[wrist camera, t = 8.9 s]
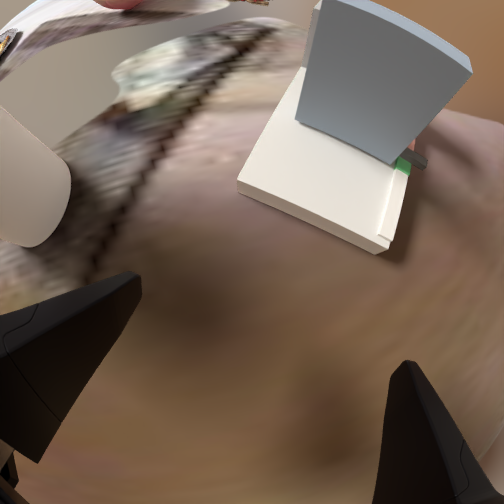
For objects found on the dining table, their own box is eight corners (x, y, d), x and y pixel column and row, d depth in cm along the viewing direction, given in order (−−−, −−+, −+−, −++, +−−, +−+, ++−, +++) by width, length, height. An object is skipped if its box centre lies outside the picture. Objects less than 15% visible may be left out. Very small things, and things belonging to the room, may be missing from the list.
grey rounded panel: (416, 180, 16) (506, 103, 6) (294, 119, 16) (323, -5, 7) (421, 144, 16) (495, 67, 7) (310, 88, 17) (339, -21, 8)
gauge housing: (375, 255, 17) (449, 223, 9) (237, 192, 18) (231, 117, 10) (409, 108, 20) (449, 53, 12) (310, 61, 20) (326, -6, 13)
